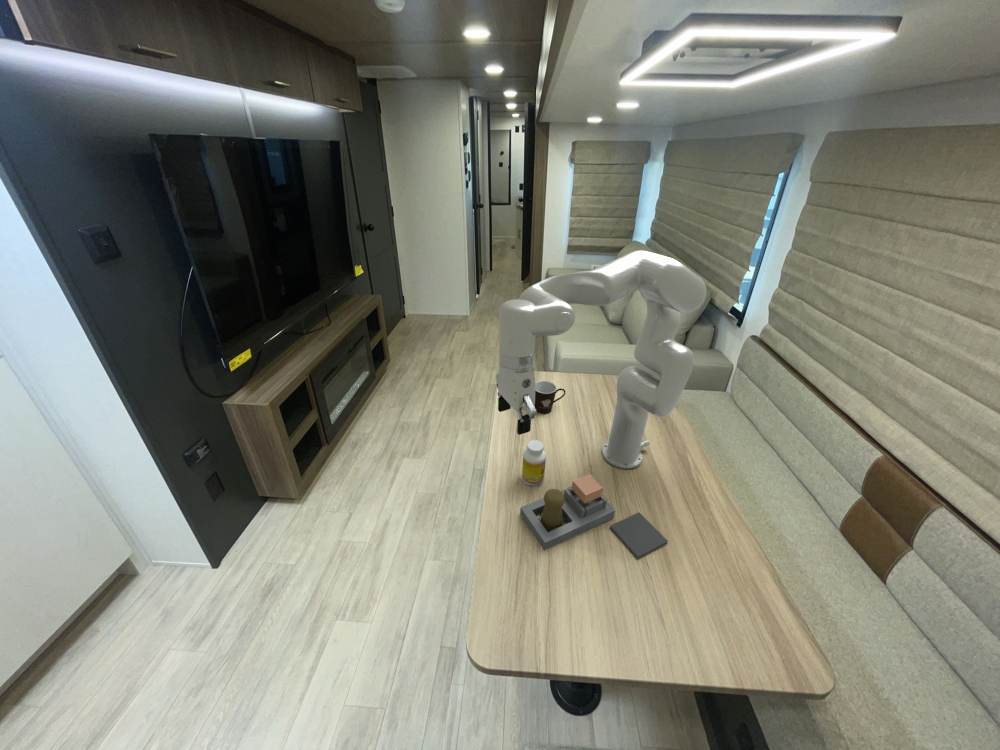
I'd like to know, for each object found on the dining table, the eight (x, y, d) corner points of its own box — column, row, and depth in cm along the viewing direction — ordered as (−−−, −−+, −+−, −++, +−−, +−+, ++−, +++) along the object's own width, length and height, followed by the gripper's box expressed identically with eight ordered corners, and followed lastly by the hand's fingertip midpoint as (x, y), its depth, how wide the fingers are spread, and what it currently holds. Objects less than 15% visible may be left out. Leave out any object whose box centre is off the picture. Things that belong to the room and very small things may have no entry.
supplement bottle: (542, 488, 114) (545, 454, 107) (519, 484, 115) (522, 451, 109) (544, 472, 120) (548, 439, 113) (523, 468, 121) (525, 436, 114)
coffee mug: (529, 413, 145) (530, 391, 140) (534, 401, 152) (535, 379, 147) (560, 419, 143) (563, 396, 137) (564, 406, 150) (566, 384, 145)
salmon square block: (588, 481, 108) (589, 473, 106) (601, 496, 103) (603, 487, 102) (571, 488, 105) (572, 480, 104) (584, 503, 101) (585, 495, 100)
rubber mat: (638, 514, 107) (639, 512, 106) (667, 543, 99) (668, 540, 99) (609, 527, 103) (610, 525, 102) (637, 559, 95) (638, 557, 95)
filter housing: (585, 487, 115) (588, 473, 112) (613, 518, 105) (617, 503, 103) (520, 514, 106) (521, 500, 103) (544, 550, 97) (546, 536, 94)
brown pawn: (547, 536, 100) (551, 506, 94) (535, 519, 105) (538, 489, 99) (567, 527, 102) (572, 498, 97) (554, 511, 107) (557, 481, 101)
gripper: (552, 372, 80) (546, 437, 89) (512, 338, 93) (510, 398, 102) (520, 380, 77) (517, 447, 86) (483, 344, 90) (484, 405, 99)
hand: (513, 420), depth 94 cm, fingers open, 9 cm apart
